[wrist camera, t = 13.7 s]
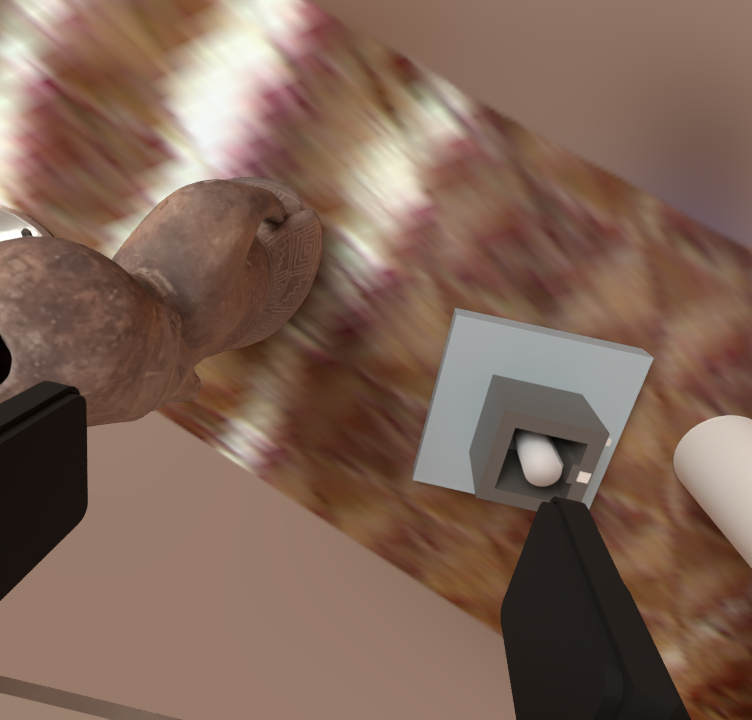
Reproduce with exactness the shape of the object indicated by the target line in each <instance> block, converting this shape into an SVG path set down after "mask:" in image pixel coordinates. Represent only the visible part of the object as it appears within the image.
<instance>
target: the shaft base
mask: <svg viewBox="0 0 752 720" xmlns="http://www.w3.org/2000/svg"><path fill="white" fill-rule="evenodd" d="M652 361H653V357H652V356H651V355H649V354H648V353H647V352H646V351H644V350H643V349H641V348H636V347H632V346H627V345H623V344H618V343H613V342H609V341H604V340H600V339H595V338H591V337H586V336H581V335H577V334H572V333H568V332H563V331H559V330H554V329H550V328H545V327H540V326H536V325H531V324H527V323H522V322H518V321H513V320H508V319H504V318H499V317H495V316H490V315H486V314H481V313H476V312H472V311H467V310H463V309H458V308H455V311H454V314H453V318H452V322H451V326H450V330H449V333H448V337H447V341H446V345H445V349H444V352H443V356H442V360H441V364H440V368H439V371H438V375H437V379H436V383H435V387H434V390H433V394H432V398H431V402H430V406H429V409H428V413H427V417H426V421H425V425H424V428H423V432H422V436H421V440H420V444H419V447H418V451H417V455H416V459H415V463H414V466H413V480H415V481H419V482H424V483H428V484H432V485H437V486H441V487H446V488H450V489H454V490H459V491H463V492H467V493H472V494H475V490H474V483H473V476H472V469H471V462H470V455H469V450H470V447H471V443H472V440H473V437H474V434H475V430H476V427H477V424H478V421H479V417H480V414H481V411H482V408H483V404H484V401H485V398H486V395H487V391H488V388H489V385H490V382H491V379H492V375H493V374H494V375H498V376H503V377H507V378H512V379H516V380H521V381H525V382H530V383H534V384H538V385H543V386H547V387H552V388H556V389H561V390H565V391H570V392H574V393H579V394H582V395H583V396H584V398H585V399H586V400H587V402H588V403H589V405H590V406H591V408H592V409H593V410H594V412H595V413H596V415H597V416H598V418H599V419H600V420H601V422H602V423H603V425H604V426H605V428H606V429H607V430H608V432H609V433H610V435H609V437H608V440H607V442H606V445H605V447H604V449H603V452H602V454H601V456H600V459H599V461H598V464H597V466H596V468H595V471H594V473H593V476H592V478H591V480H590V483H589V485H588V487H587V490H586V492H585V495H584V497H583V499H582V503H585V504H586V506H587V508H588V510H589V509H590V506H591V504H592V502H593V499H594V497H595V494H596V492H597V490H598V487H599V485H600V483H601V480H602V478H603V476H604V473H605V471H606V469H607V466H608V464H609V462H610V459H611V457H612V455H613V452H614V450H615V448H616V445H617V443H618V441H619V438H620V436H621V433H622V431H623V429H624V426H625V424H626V422H627V419H628V417H629V415H630V412H631V410H632V408H633V405H634V403H635V401H636V398H637V396H638V394H639V391H640V389H641V387H642V384H643V382H644V380H645V377H646V375H647V372H648V370H649V368H650V365H651V363H652ZM509 449H513V450H517V453H518V456H519V459H520V462H521V465H522V469H523V472H524V475H525V477H526V479H527V480H528V481H529V482H530V483H531V484H533V485H536V486H549V485H551V484H553V483H555V482H556V481H558V479H559V478H560V476H561V473H562V468H563V466H564V465H563V463H562V460H561V458H560V456H559V454H558V452H557V450H556V448H555V445H554V443H553V441H552V439H551V437H550V435H545V434H541V433H536V432H532V431H528V430H523V429H519V428H515V430H514V433H513V436H512V439H511V442H510V445H509Z"/></svg>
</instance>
